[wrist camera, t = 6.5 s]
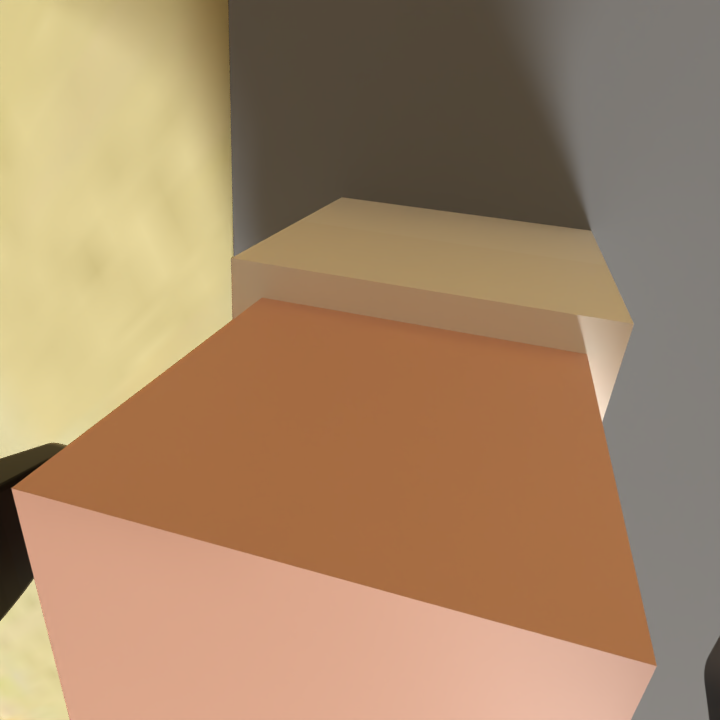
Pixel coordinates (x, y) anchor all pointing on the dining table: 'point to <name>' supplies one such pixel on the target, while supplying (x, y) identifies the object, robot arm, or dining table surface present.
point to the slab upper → (443, 289)
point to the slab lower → (461, 229)
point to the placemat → (534, 211)
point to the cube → (342, 534)
